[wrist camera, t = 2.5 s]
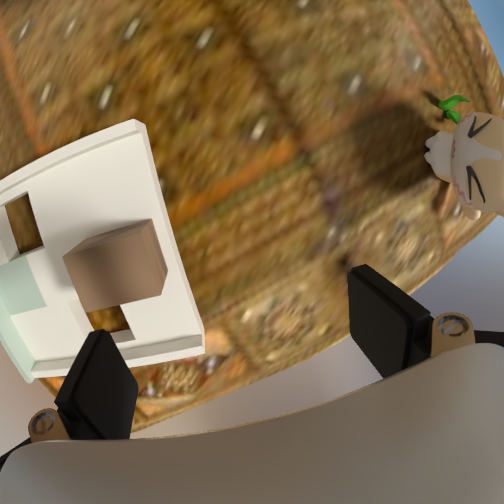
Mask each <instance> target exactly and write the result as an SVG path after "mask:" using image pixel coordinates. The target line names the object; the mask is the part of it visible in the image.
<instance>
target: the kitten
mask: <svg viewBox="0 0 504 504" xmlns="http://www.w3.org/2000/svg"><path fill="white" fill-rule="evenodd" d="M460 101H465V102H469V101H468V100H467V99H465V98H464V97H462V96H460V95H455V96H452V97H450V98H449V99H447V100H445V101H442V102H439V105H438V108H441V109H443V110H445V111H447V110H449V109H451V108H452V107H453V106H454V105H455V104H456V103H458V102H460ZM445 113H446V115H447V119H452V120H453V121H454V122H455V123H456V124H457V126H456V128H455V131H454V132H453V131H449V130H442V131H439V132H438V133H437V134H436V135H435V136H433V137H431V138H429V139H427V140H426V143H425V144H426V146H427V147H428V148H429V149H430V152H426V153H425V155H424V157H425V159H426V161H427V162H428V163H429V164H431V166H432V169H433V171H434V173H435V174H436V176H437V177H439V178H440V179H442V180H444V181H447V182H449V183H453V187H454V190H455V193H456V195H457V196H458V199H459V201H460V203H461V205H462V208H463V211H464V213H465V214H466V216H467V217H468V218H469V219H471V220H477V219H478V218H479V217H480V211H484V212H495V213H497V214H498V215H500V216H503V217H504V118H500V117H498V116H495V115H492V114H488V113H482V112H472V113H468V114H466V115H465V116H463V117H462V118H461V117H460V115H459V114H458V113H457V112H456V111H447V112H445Z"/></svg>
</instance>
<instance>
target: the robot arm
mask: <svg viewBox="0 0 504 504" xmlns="http://www.w3.org/2000/svg"><path fill="white" fill-rule="evenodd" d="M347 279H348V296H349V319H350V334H351V336H352V338H353V340H354V341H355V342H356V343H357V345H358V346H359V347H360V349H361V350H362V351H363V352H364V354H365V355H366V356H367V357H368V359H369V360H370V362H371V363H372V364H373V366H374V367H375V368H376V369H377V371H378V372H379V373H380V375H381V376H382V377H383V379H382V380H380V381H377V382H375V383H372V384H370V385H367V386H365V387H362V388H360V389H357V390H355V391H352V392H350V393H347V394H344V395H342V396H339V397H336V398H333V399H330V400H327V401H324V402H321V403H318V404H315V405H312V406H309V407H306V408H302V409H299V410H296V411H292V412H289V413H285V414H282V415H278V416H274V417H270V418H266V419H262V420H258V421H254V422H249V423H245V424H241V425H235V426H231V427H226V428H220V429H214V430H209V431H202V432H197V433H190V434H181V435H173V436H164V437H153V438H140V439H129V438H130V433H131V427H132V421H133V416H134V410H135V405H136V400H137V395H138V384H137V382H136V380H135V378H134V376H133V375H132V373H131V371H130V370H129V368H128V366H127V364H126V362H125V361H124V359H123V357H122V355H121V353H120V351H119V349H118V348H117V346H116V344H115V342H114V340H113V338H112V336H111V334H110V333H109V332H106V331H105V330H104V329H101V330H96V331H91V332H90V333H89V334H88V336H87V338H86V339H85V341H84V343H83V345H82V347H81V349H80V351H79V352H78V354H77V356H76V358H75V360H74V362H73V364H72V366H71V368H70V370H69V372H68V374H67V376H66V378H65V380H64V382H63V384H62V386H61V388H60V390H59V392H58V395H57V397H56V399H55V401H54V403H55V404H56V405H57V406H58V410H57V411H56V410H54V409H51V408H47V409H43V410H41V411H39V412H37V413H36V414H35V415H34V416H33V417H32V418H31V420H30V422H29V426H28V431H29V435H30V437H29V438H28V439H27V440H25V441H24V442H22V443H21V444H19V445H18V446H16V447H15V448H13V449H12V450H10V451H9V452H7V453H6V454H4V455H2V456H1V457H0V504H504V332H492V331H478V330H477V331H476V330H474V329H473V324H472V322H471V321H470V319H469V318H467V317H466V316H464V315H462V314H459V313H453V312H450V313H444V314H441V315H439V316H437V317H436V318H435V319H434V318H433V317H431V316H430V312H429V311H428V310H427V309H425V308H424V307H423V306H422V305H421V304H419V303H418V302H417V301H415V300H414V299H413V298H411V297H410V296H409V295H407V294H406V293H405V292H404V291H402V290H401V289H400V288H398V287H397V286H395V285H394V284H393V283H391V282H390V281H389V280H387V279H386V278H385V277H383V276H382V275H381V274H379V273H378V272H376V271H375V270H374V269H372V268H371V267H369V266H368V265H366V264H364V265H360V266H357V267H354V268H352V269H351V272H350V273H348V275H347Z"/></svg>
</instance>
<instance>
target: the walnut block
mask: <svg viewBox="0 0 504 504" xmlns="http://www.w3.org/2000/svg"><path fill="white" fill-rule="evenodd" d="M62 258H63V261H64V263H65V266H66V268H67V271H68V273H69V276H70V278H71V281H72V283H73V286H74V288H75V290H76V292H77V295H78V297H79V299H80V301H81V304H82V306H83V308H84V310H85V312H86V313H87V312H91V311H96V310H100V309H105V308H109V307H113V306H118V305H122V304H126V303H130V302H135V301H139V300H143V299H147V298H151V297H156V296H160V295H161V294H162V290H163V287H164V283H165V280H166V277H167V273H168V268H167V265H166V262H165V259H164V256H163V253H162V250H161V247H160V243H159V240H158V237H157V234H156V230H155V227H154V224H153V220H152V219H148V220H145V221H142V222H138V223H135V224H131V225H128V226H125V227H122V228H118V229H115V230H112V231H109V232H106V233H103V234H99V235H96V236H93V237H90V238H87V239H85V240H83V241H82V242H81V243H79V244H78V245H77V246H75V247H74V248H73V249H72V250H70V251H69V252H68V253H67V254H65V255H64V256H63V257H62Z"/></svg>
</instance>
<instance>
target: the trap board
mask: <svg viewBox="0 0 504 504" xmlns="http://www.w3.org/2000/svg"><path fill="white" fill-rule="evenodd" d="M26 194H29V198H30V202H31V205H32V209H33V213H34V216H35V219H36V223H37V226H38V229H39V232H40V235H41V238H42V241H43V244H44V245H43V246H40V247H38V248H35V249H33V250H30V251H28V252H25V253H23V254H20V253H19V251H18V248H17V245H16V242H15V239H14V236H13V233H12V230H11V226H10V223H9V220H8V216H7V212H6V209H5V205H7V204H9V203H10V202H12V201H14V200H16V199H18V198H20V197H22V196H24V195H26ZM148 219H152V220H153V224H154V227H155V230H156V234H157V237H158V240H159V243H160V247H161V250H162V253H163V256H164V259H165V262H166V265H167V268H168V273H167V277H166V280H165V283H164V287H163V290H162V294H161V295H160V296H156V297H151V298H147V299H143V300H139V301H135V302H130V303H126V304H122V305H120V306H121V309H122V311H123V313H124V315H125V317H126V320H127V322H128V324H129V326H130V328H131V329H128V330H123V331H118V332H113V333H110V334H111V336H112V338H113V340H114V342H115V344H116V346H117V348H118V349H119V351H120V353H121V355H122V357H123V359H124V361H125V362H126V364H127V366H128V368H130V367H136V366H143V365H148V364H154V363H160V362H165V361H170V360H176V359H181V358H186V357H190V356H195V355H200V354H204V353H205V339H204V327H203V324H202V321H201V318H200V315H199V312H198V310H197V307H196V304H195V301H194V298H193V295H192V292H191V289H190V286H189V283H188V280H187V277H186V274H185V271H184V268H183V264H182V261H181V258H180V255H179V252H178V248H177V245H176V242H175V238H174V235H173V232H172V228H171V225H170V221H169V218H168V214H167V211H166V207H165V203H164V200H163V196H162V192H161V188H160V184H159V181H158V177H157V173H156V169H155V165H154V161H153V156H152V152H151V148H150V144H149V139H148V135H147V130H146V126H145V124H143V123H141V122H139V121H137V120H135V119H131V120H128V121H125V122H123V123H120V124H117V125H114V126H112V127H109V128H106V129H104V130H101V131H99V132H96V133H94V134H91V135H89V136H86V137H84V138H82V139H79V140H77V141H75V142H73V143H70V144H68V145H66V146H64V147H62V148H60V149H57V150H55V151H53V152H51V153H49V154H47V155H45V156H43V157H41V158H39V159H37V160H36V161H34V162H32V163H30V164H28V165H26V166H24V167H23V168H21V169H19V170H17V171H16V172H14V173H12V174H10V175H9V176H7V177H5V178H4V179H2V180H0V341H1V343H2V345H3V346H4V348H5V350H6V352H7V353H8V355H9V356H10V358H11V360H12V361H13V363H14V364H15V366H16V367H17V369H18V370H19V372H20V373H21V375H22V376H23V378H24V379H25V381H26V382H27V383H32V382H33V380H34V378H41V377H55V376H66V375H67V374H68V372H69V370H70V368H71V366H72V364H73V362H74V360H75V358H76V356H77V354H78V352H79V351H80V349H81V347H82V345H83V343H84V341H85V339H86V338H87V336H88V334H89V333H90V332H91V331H94V330H93V328H92V326H91V324H90V322H89V320H88V318H87V316H86V313H85V311H84V309H83V307H82V305H81V303H80V301H79V297H78V295H77V292H76V290H75V288H74V286H73V283H72V281H71V278H70V276H69V273H68V271H67V268H66V266H65V263H64V261H63V258H62V257H63V256H64V255H65V254H67V253H68V252H69V251H70V250H72V249H73V248H74V247H75V246H77V245H78V244H79V243H81V242H82V241H83V240H85V239H87V238H90V237H93V236H96V235H99V234H103V233H106V232H109V231H112V230H115V229H118V228H122V227H125V226H128V225H131V224H135V223H138V222H142V221H145V220H148Z"/></svg>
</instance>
